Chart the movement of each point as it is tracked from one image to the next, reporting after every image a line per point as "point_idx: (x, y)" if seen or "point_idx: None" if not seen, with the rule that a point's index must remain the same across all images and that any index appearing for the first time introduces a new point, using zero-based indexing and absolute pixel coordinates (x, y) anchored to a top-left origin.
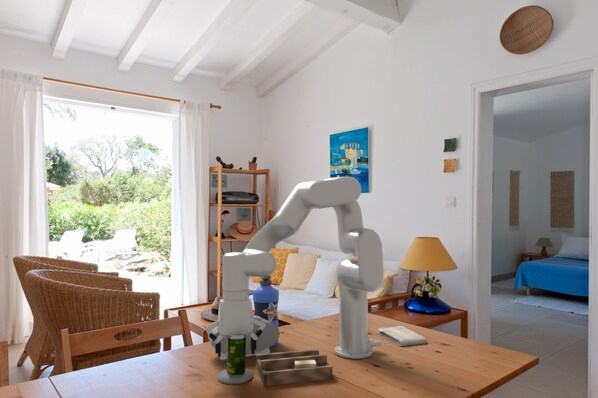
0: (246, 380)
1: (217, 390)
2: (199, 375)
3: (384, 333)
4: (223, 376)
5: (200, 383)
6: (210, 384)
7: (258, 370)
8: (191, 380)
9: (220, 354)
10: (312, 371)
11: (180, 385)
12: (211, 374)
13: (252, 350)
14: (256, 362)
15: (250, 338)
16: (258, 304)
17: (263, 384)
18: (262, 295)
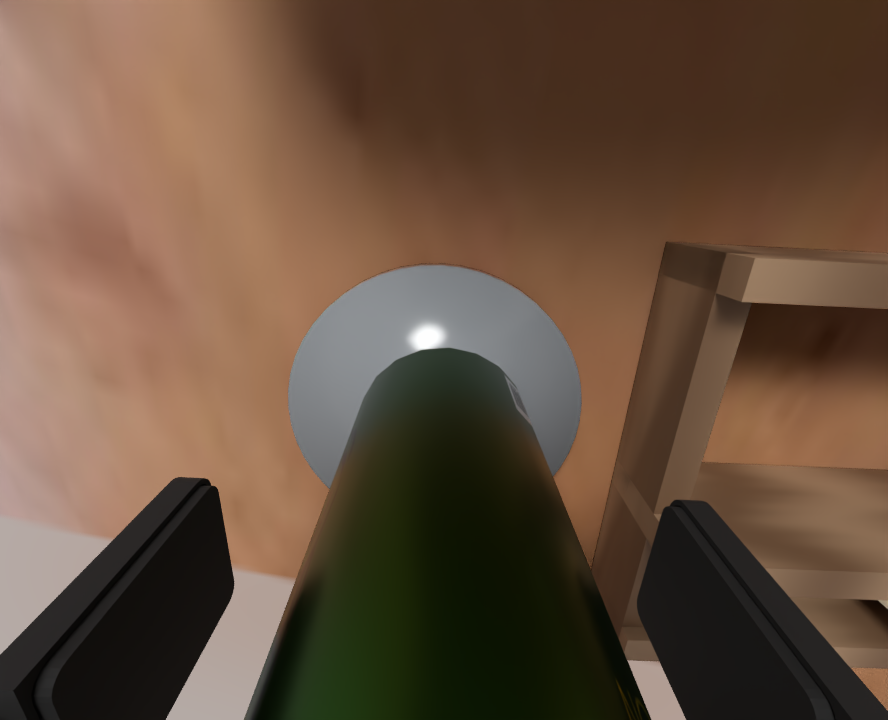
0: None
1: (296, 559)
2: (131, 276)
3: None
4: (335, 426)
5: (168, 435)
6: (245, 469)
7: (645, 391)
8: (84, 364)
9: (214, 619)
10: None
11: (21, 429)
12: (239, 285)
13: (663, 652)
14: (692, 280)
15: (815, 707)
16: None
17: (593, 570)
18: None
